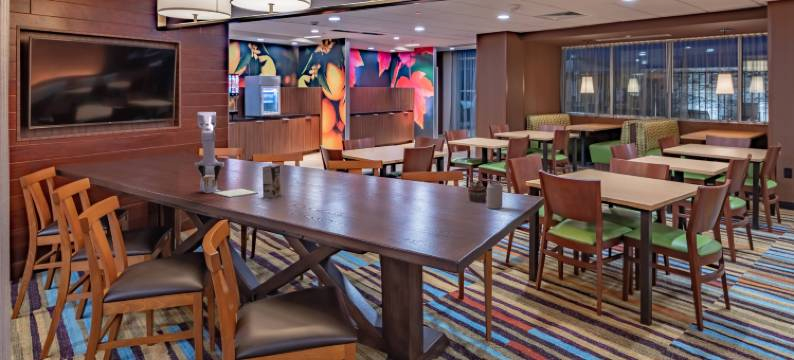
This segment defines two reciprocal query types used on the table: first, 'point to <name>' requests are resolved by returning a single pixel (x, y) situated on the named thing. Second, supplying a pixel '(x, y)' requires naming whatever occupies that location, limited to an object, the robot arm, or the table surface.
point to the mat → (235, 193)
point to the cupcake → (477, 192)
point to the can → (494, 196)
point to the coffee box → (271, 181)
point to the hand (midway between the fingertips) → (210, 180)
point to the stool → (209, 177)
